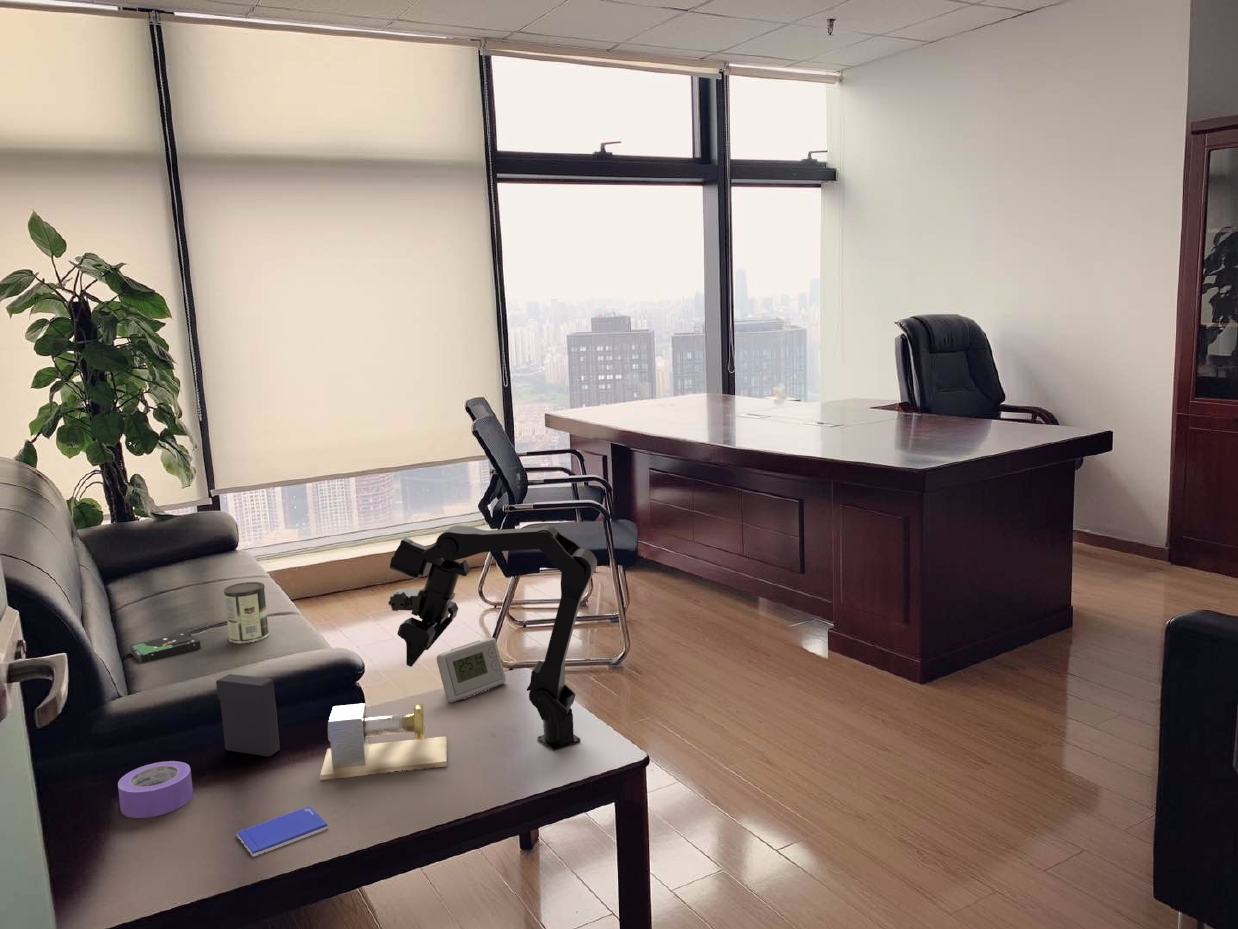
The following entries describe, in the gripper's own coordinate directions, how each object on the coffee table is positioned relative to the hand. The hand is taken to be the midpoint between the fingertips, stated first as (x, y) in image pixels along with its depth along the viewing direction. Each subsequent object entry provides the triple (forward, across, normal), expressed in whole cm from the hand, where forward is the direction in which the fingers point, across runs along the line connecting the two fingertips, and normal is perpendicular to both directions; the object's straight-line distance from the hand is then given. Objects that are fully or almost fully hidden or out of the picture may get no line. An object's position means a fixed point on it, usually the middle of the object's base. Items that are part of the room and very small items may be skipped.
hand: (417, 657), depth 189 cm
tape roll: (+30, +29, -30) cm, 52 cm away
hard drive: (+20, +37, -4) cm, 43 cm away
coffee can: (+41, -55, -59) cm, 90 cm away
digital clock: (+15, -23, +9) cm, 29 cm away
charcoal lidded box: (+27, +9, -24) cm, 37 cm away
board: (+17, +11, +3) cm, 20 cm away
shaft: (+14, +11, 0) cm, 18 cm away
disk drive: (+47, -44, -74) cm, 98 cm away
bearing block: (+18, +13, -3) cm, 22 cm away
